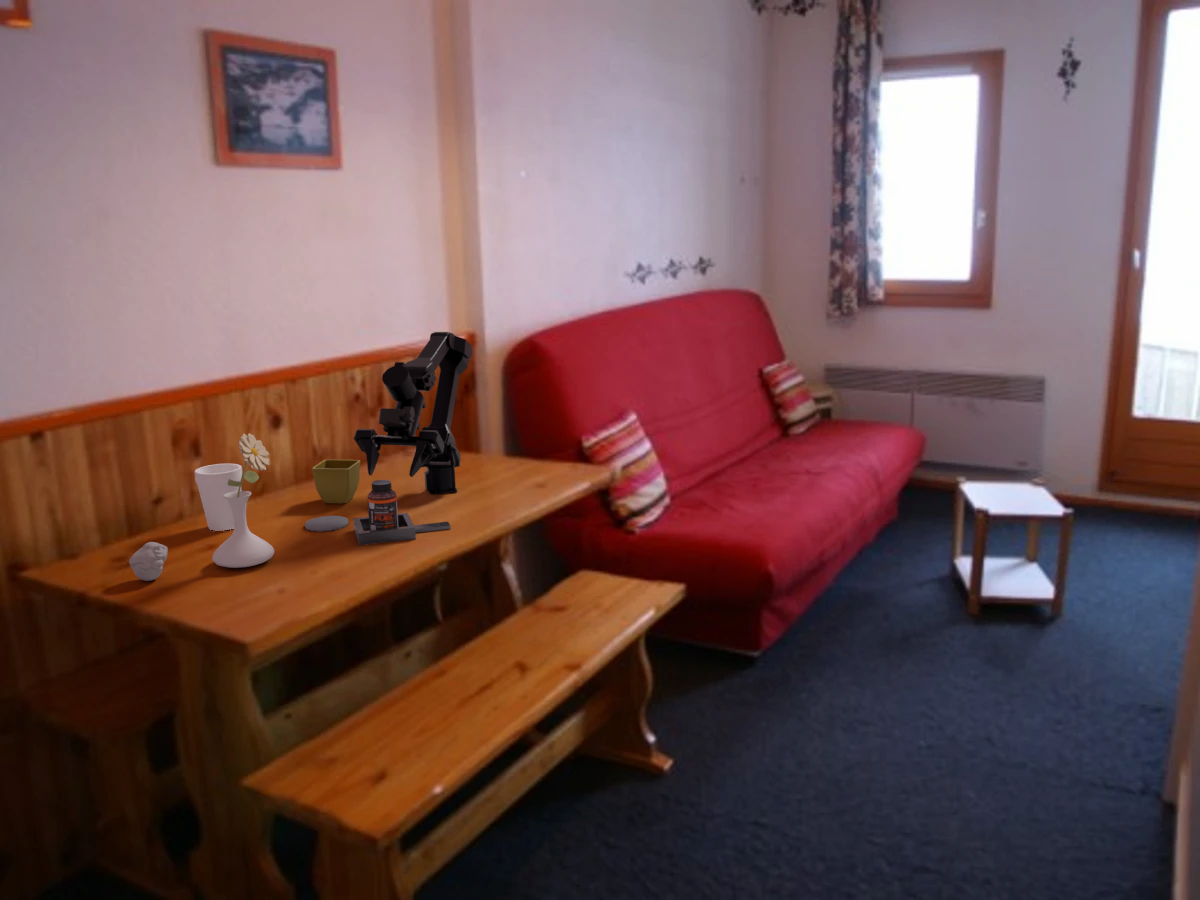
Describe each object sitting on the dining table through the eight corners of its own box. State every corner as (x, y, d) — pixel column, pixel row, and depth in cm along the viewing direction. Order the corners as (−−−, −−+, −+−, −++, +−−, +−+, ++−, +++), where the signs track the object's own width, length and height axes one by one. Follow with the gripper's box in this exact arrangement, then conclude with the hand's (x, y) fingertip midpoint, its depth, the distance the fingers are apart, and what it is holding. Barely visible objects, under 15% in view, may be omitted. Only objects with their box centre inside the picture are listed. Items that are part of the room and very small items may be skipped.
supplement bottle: (374, 540, 212) (370, 487, 209) (366, 532, 217) (362, 480, 214) (402, 535, 214) (399, 483, 212) (394, 528, 219) (390, 476, 217)
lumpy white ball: (177, 578, 192) (172, 542, 190) (140, 588, 187) (135, 551, 185) (161, 571, 196) (157, 535, 194) (125, 581, 191) (120, 545, 189)
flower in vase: (240, 577, 192) (226, 445, 186) (200, 567, 198) (185, 439, 192) (294, 556, 203) (283, 432, 197) (255, 547, 209) (243, 426, 203)
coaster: (346, 517, 228) (346, 514, 228) (350, 529, 220) (349, 525, 220) (304, 522, 225) (304, 518, 225) (306, 533, 217) (305, 530, 217)
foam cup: (256, 523, 225) (251, 465, 222) (225, 535, 217) (218, 475, 214) (223, 519, 229) (217, 462, 226) (191, 530, 221) (184, 471, 218)
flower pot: (363, 496, 245) (361, 459, 243) (351, 506, 237) (348, 468, 235) (327, 496, 246) (324, 459, 244) (314, 506, 238) (311, 468, 236)
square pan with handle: (444, 519, 225) (444, 508, 224) (454, 534, 214) (453, 523, 214) (354, 529, 219) (353, 518, 219) (359, 545, 209) (358, 533, 208)
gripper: (354, 391, 221) (334, 453, 213) (436, 393, 217) (420, 456, 209) (371, 421, 230) (354, 481, 222) (451, 422, 227) (436, 484, 218)
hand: (390, 475), depth 218 cm, fingers open, 9 cm apart
